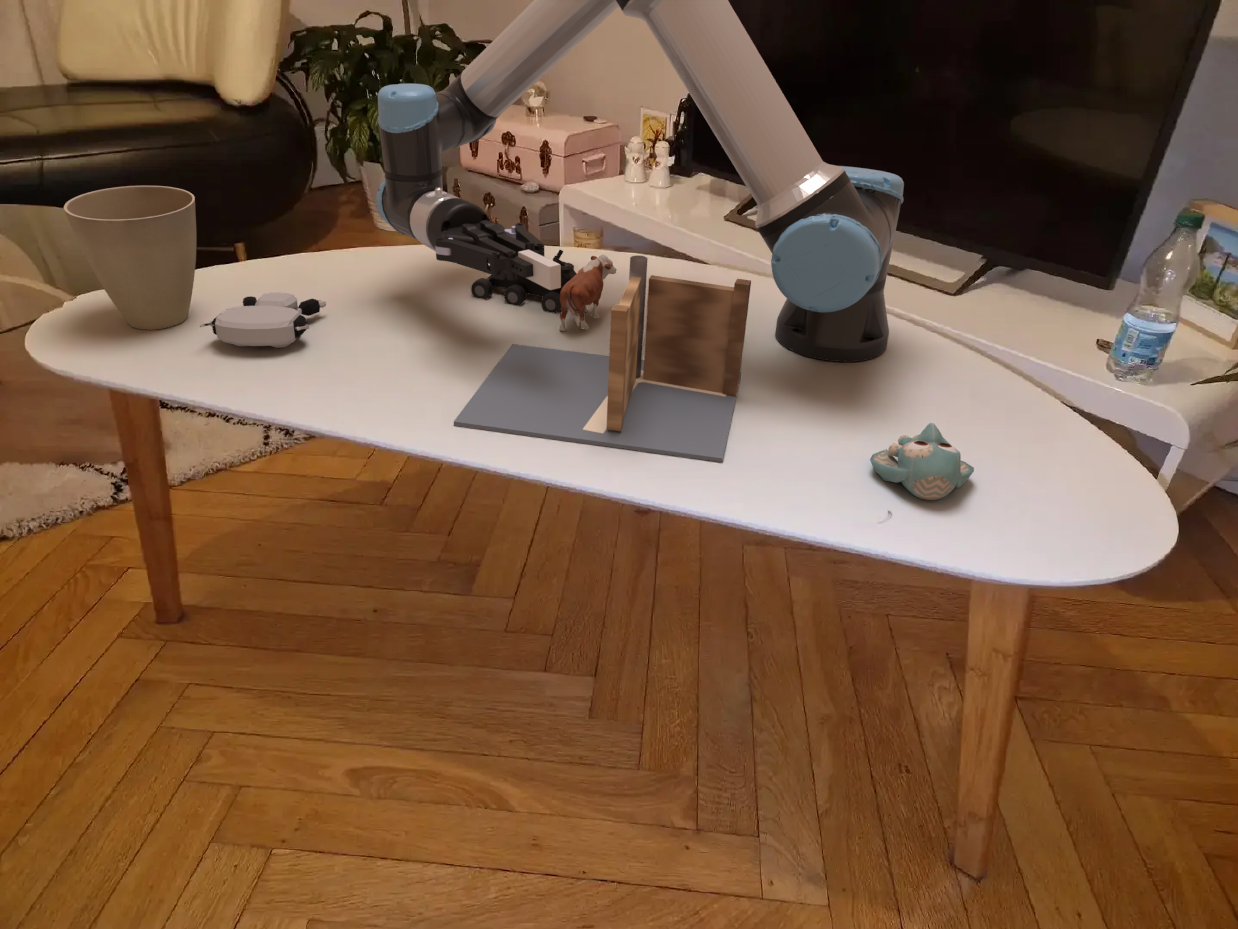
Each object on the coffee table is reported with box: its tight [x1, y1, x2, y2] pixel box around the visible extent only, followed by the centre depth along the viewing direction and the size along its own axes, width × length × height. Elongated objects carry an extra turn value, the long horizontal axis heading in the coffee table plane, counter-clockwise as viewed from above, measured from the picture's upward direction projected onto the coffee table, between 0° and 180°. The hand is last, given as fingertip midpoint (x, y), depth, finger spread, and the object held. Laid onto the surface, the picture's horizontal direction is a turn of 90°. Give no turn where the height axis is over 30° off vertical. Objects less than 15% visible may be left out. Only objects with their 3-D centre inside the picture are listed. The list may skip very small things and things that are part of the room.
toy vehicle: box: [470, 249, 578, 314], centre depth 136 cm, size 8×15×9 cm, turn 68°
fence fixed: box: [628, 255, 752, 398], centre depth 110 cm, size 14×2×16 cm, turn 73°
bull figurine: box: [559, 254, 617, 332], centre depth 129 cm, size 4×13×8 cm, turn 155°
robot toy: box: [199, 292, 327, 349], centre depth 122 cm, size 12×4×15 cm
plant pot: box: [63, 185, 197, 331], centre depth 121 cm, size 15×15×16 cm
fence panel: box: [607, 276, 641, 431], centre depth 104 cm, size 13×2×14 cm, turn 171°
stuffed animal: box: [869, 422, 975, 501], centre depth 97 cm, size 11×7×12 cm
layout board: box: [453, 343, 742, 463], centre depth 110 cm, size 30×22×1 cm
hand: (555, 277), depth 105 cm, fingers closed
